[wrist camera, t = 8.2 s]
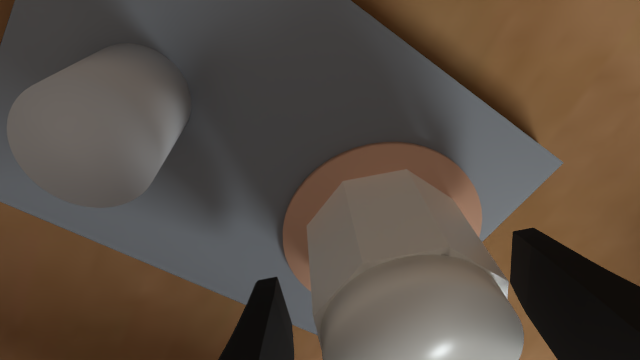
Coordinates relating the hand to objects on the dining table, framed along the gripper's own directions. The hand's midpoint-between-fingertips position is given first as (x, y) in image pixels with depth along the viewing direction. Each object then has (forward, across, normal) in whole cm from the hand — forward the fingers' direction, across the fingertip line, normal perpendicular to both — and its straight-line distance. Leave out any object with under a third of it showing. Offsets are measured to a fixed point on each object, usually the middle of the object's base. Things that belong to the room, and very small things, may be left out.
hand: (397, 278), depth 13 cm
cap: (+2, 0, 0) cm, 2 cm away
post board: (+4, +3, -3) cm, 6 cm away
